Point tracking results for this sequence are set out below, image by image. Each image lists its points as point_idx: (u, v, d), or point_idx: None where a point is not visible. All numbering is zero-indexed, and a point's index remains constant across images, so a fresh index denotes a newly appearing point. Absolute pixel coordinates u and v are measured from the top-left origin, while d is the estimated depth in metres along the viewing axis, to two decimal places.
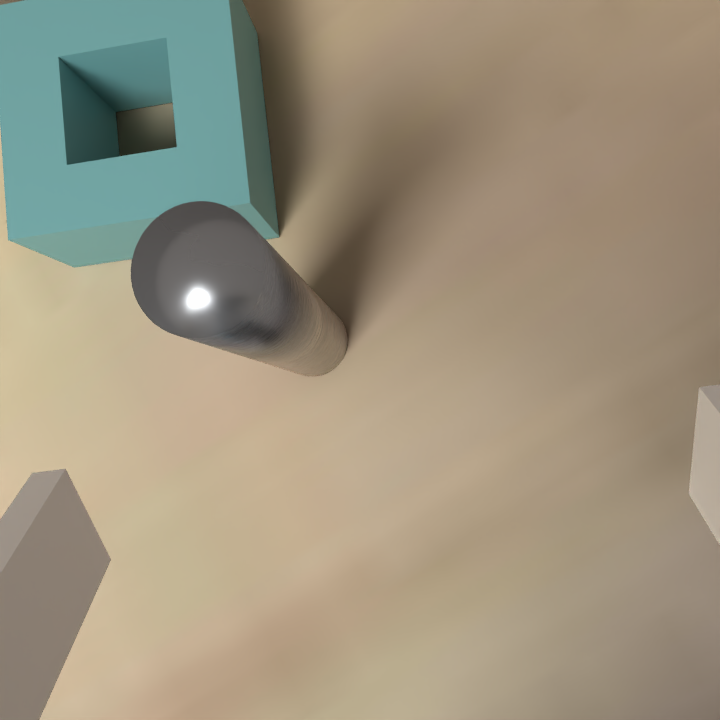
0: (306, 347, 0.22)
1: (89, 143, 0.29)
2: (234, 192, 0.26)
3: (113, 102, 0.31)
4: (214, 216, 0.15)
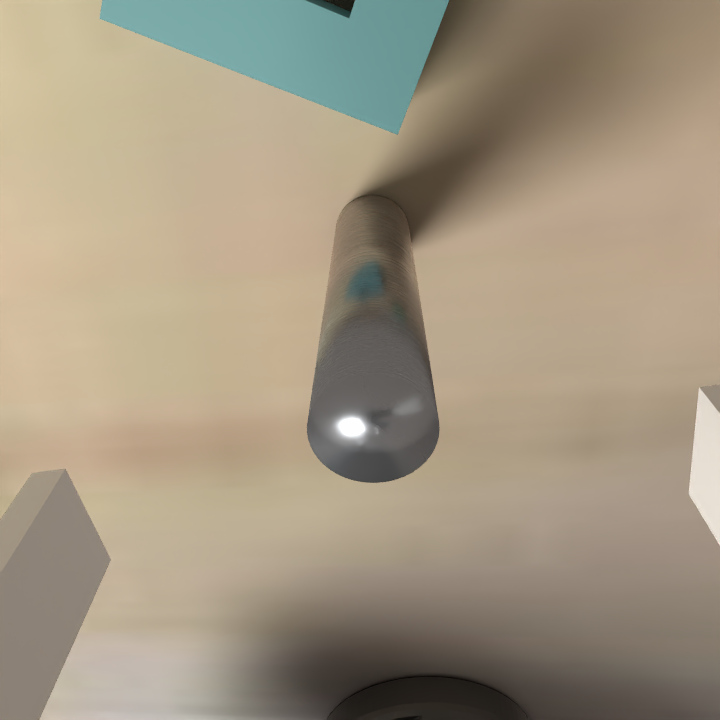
0: None
1: None
2: (387, 113, 0.22)
3: None
4: (411, 399, 0.16)
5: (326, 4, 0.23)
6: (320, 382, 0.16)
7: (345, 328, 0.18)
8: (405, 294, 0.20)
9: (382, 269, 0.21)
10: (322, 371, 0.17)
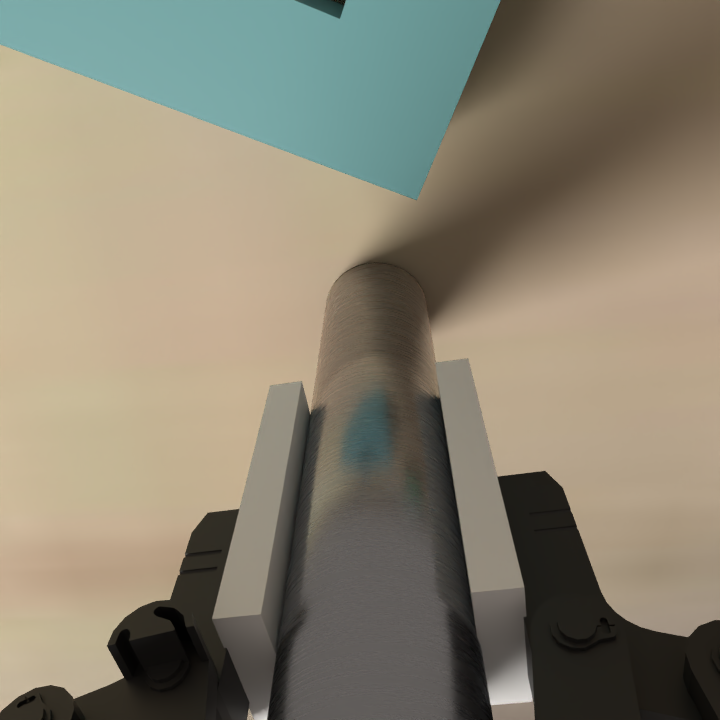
0: None
1: None
2: (400, 168, 0.14)
3: None
4: None
5: None
6: None
7: (330, 587, 0.10)
8: (432, 479, 0.12)
9: (394, 426, 0.13)
10: (283, 702, 0.09)
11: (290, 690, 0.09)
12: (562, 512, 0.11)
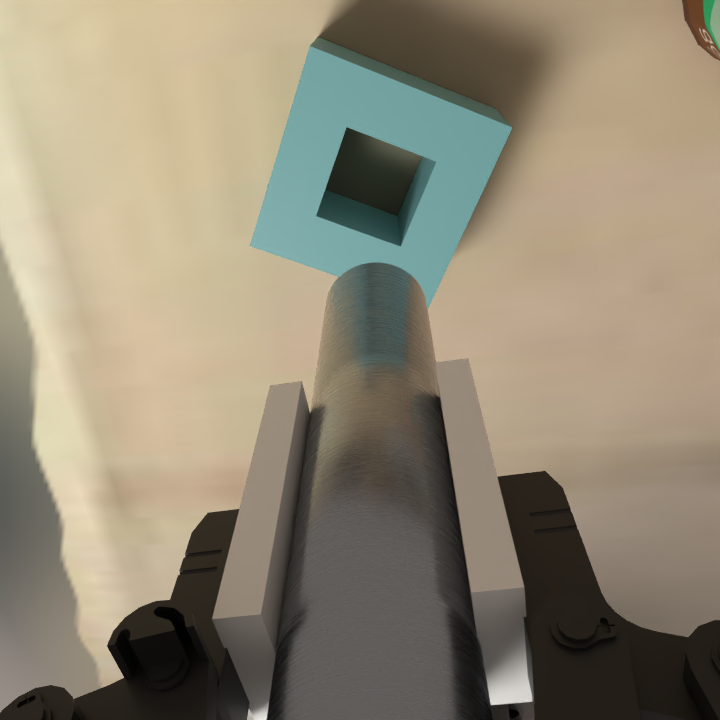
0: None
1: None
2: None
3: None
4: None
5: (383, 222, 0.37)
6: None
7: (329, 587, 0.10)
8: (432, 479, 0.12)
9: (394, 426, 0.13)
10: (283, 702, 0.09)
11: (289, 690, 0.09)
12: (562, 512, 0.11)
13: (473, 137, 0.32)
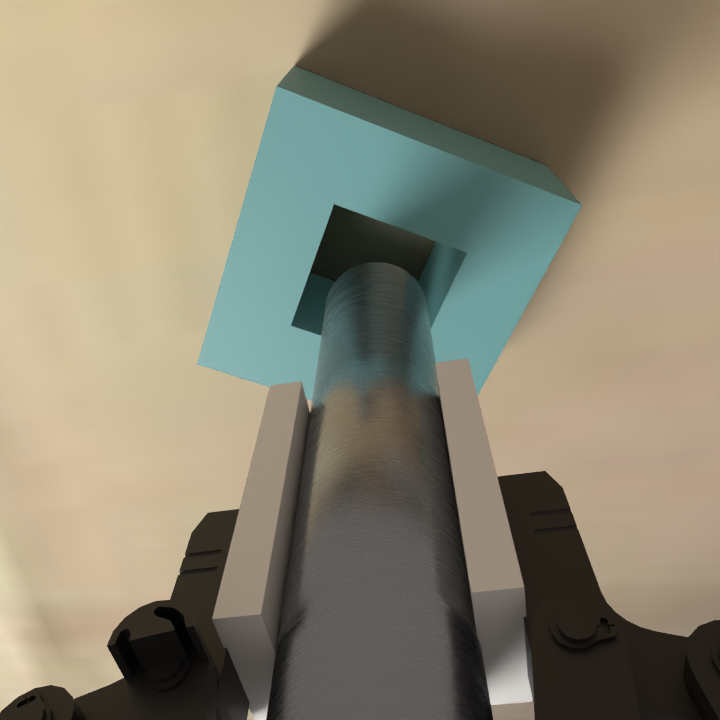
0: None
1: None
2: None
3: None
4: None
5: None
6: None
7: (329, 586, 0.10)
8: (432, 478, 0.12)
9: (393, 425, 0.13)
10: (283, 701, 0.09)
11: (289, 689, 0.09)
12: (562, 512, 0.11)
13: (523, 219, 0.21)
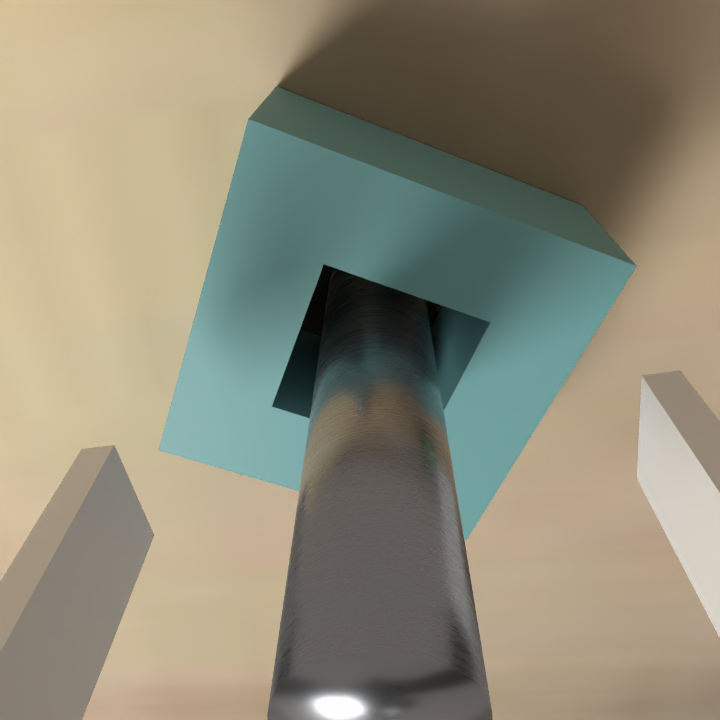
0: None
1: None
2: None
3: None
4: (446, 684, 0.09)
5: None
6: (290, 636, 0.10)
7: (334, 515, 0.11)
8: (426, 430, 0.13)
9: (391, 385, 0.14)
10: (295, 607, 0.10)
11: (301, 597, 0.10)
12: None
13: (561, 283, 0.17)
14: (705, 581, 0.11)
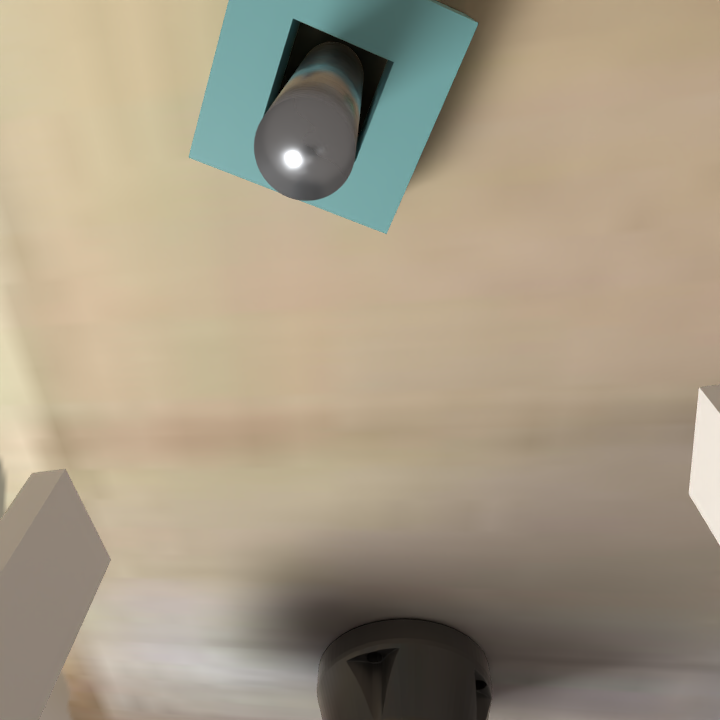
0: None
1: (278, 77, 0.31)
2: (379, 220, 0.32)
3: None
4: (333, 121, 0.20)
5: None
6: None
7: (289, 87, 0.23)
8: (343, 81, 0.25)
9: (327, 67, 0.26)
10: None
11: None
12: None
13: (434, 34, 0.28)
14: None
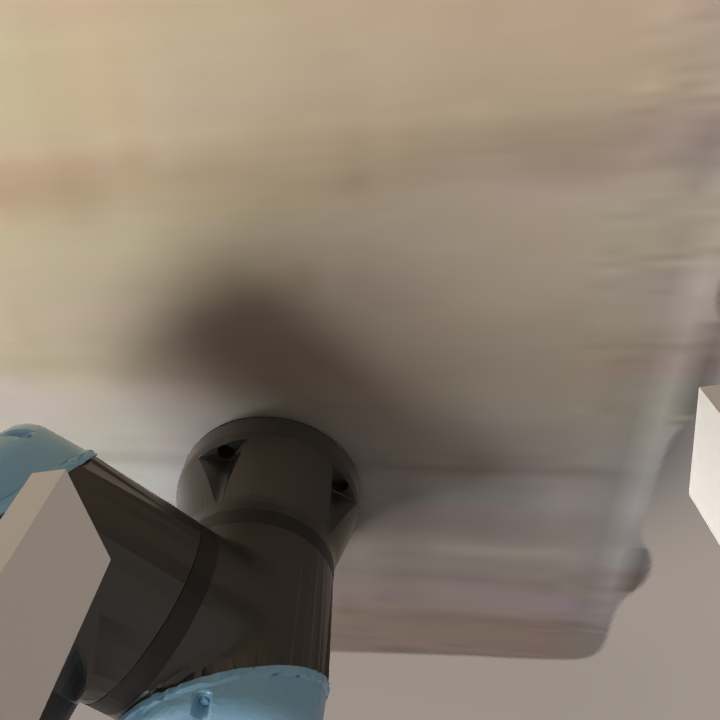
0: None
1: None
2: None
3: None
4: None
5: None
6: None
7: None
8: None
9: None
10: None
11: None
12: None
13: None
14: None
